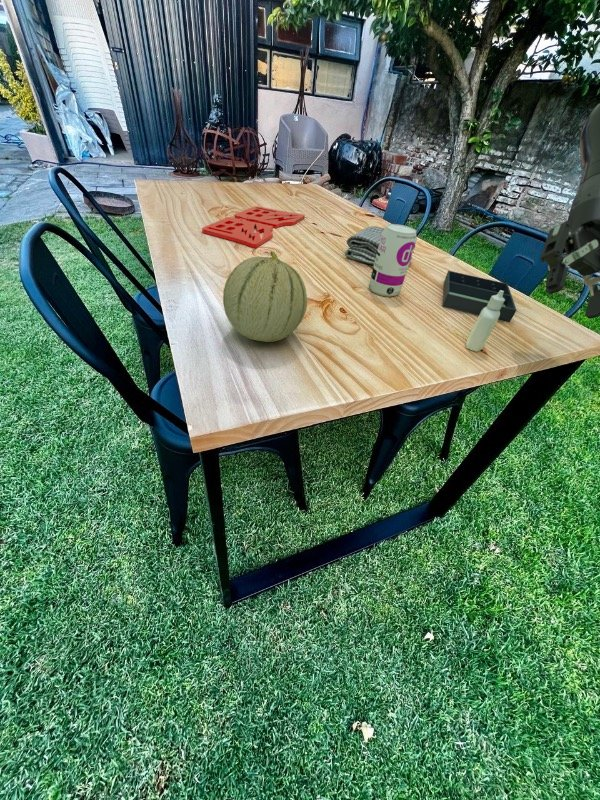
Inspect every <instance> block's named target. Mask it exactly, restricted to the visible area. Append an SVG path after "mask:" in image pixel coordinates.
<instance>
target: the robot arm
mask: <svg viewBox="0 0 600 800" xmlns="http://www.w3.org/2000/svg"><path fill="white" fill-rule="evenodd" d="M579 153H580V154H579V155H580V166H581V171H582V173H581V176H580V179H579V183H578V187H577V190H576V193H575V196H574V197H573V200H572V203H571V206H570V210H569V212H568V217H567V220H566V221H564V222H562V223H559V224H558V225H556V226H554V227H553V228H551V229H549V232H548V235H547V237H546V240H545V243H544V246H543V248H542V252H541V254H540V262H541V263H547V270H548V271H549V272H548V275H547V279H546V282H545V293H547V294H548V295H554V294H556V293H560V292H562V290H563V289H564V287H565V283H566V279H567V276H568V272H569V268H570V269H571V270H573V271H577V273H578V274H579V275H581V276H582V279H583V285H585V286H588V290H589V294H590V296H589V298H588V302H587V305H586V309H585V313H584V316H585V318H587V319H590V320H591V319H595V318H599V317H600V289H599V287H598V283H599V282H600V275H599V276H596V277H593V276H592V275H595V274H597V273H600V103H598V104H597V105H596V106H595V107H594V108H593V109H592V111H591V112H590V113H589V115H588V116H587V118H586V120H585V121H584V124H583V127H582V129H581V132H580V135H579ZM564 251H565V252H564ZM563 252H564V253H563ZM568 266H569V267H568Z"/></svg>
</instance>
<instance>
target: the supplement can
mask: <svg viewBox="0 0 600 800" xmlns="http://www.w3.org/2000/svg"><path fill="white" fill-rule="evenodd" d="M417 235H418V234H417V230H416V229H415V228H413V227H411V226H407V225H403V224H397V223H390V224H387V225H386V226H385V227H384V230H383V232H382V234H381V238H380V242H379V246H378V250H377V254H376V258H375V262H374V265H372V266H373V267H372V270H371V275H370V278H369V283H368V287H369V288H370V291H371V292H373V293H374V294H376V295H378V296H381V297H387V298H390V297H391V298H392V297H396V296H397V295H399V294H401V291H402V288H403V285H404V282H405V278H406V276H407V272H408V268H409V266H410V263H411V261H410V259H411V256H412V257H413V254H414V253H413V251H414V250H415V248H416V244H417V240H418V237H417ZM414 247H415V248H414ZM412 253H413V254H412Z"/></svg>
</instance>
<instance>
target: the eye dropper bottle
mask: <svg viewBox="0 0 600 800" xmlns="http://www.w3.org/2000/svg"><path fill="white" fill-rule="evenodd" d="M503 293H504V291H502V290H500V291H499V292H498V294H497V295H493V296H492V297H491V299H490V301H489V303H488V305H487V307H485V308H483V309H482V311H481V313H480V315H478V317H477V319H476V320H475V323H474V325H473V327H472V329H471V331H470V333H469V335H468V337H467V339H466V341H465V348H466V349H468V350H470V351H472V352H476V353H477V352H480V351H482V350H483V348H484V347H485V345H486V342H487V341H488V339H489V337H490V335H491V333H492V332H493V330H494V328H495V326H496V324H497V322H498V321H499V320H498V318H499V316H500V311H499V310H500V309H501V307H502V305H503V303H504V301H505V299H504V298H503Z"/></svg>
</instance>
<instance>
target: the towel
mask: <svg viewBox="0 0 600 800" xmlns="http://www.w3.org/2000/svg"><path fill="white" fill-rule="evenodd" d="M384 229H385V227H384V228H383V227H379V226H373V225H372V226H368V227H365V228H363V229H361V230H359V231H358V232H356V233H354V234H353V235H351V236H349V237H348V238H347V240H346V244H347V246H348V247H347V249H346V251H345V252H344V256H345V257H347V258H348V259H350V260H353V261H356V262H361V263H364V264H368V265H372V266H374V262H375V258H376V254H377V250H378V246H379V242H380V238H381V234H382V232H383V230H384ZM415 248H416V246H415V247H414V249H415ZM413 254H414V250H413V253H412V256H411V259H410V262H411V261H412V260H413Z"/></svg>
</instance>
